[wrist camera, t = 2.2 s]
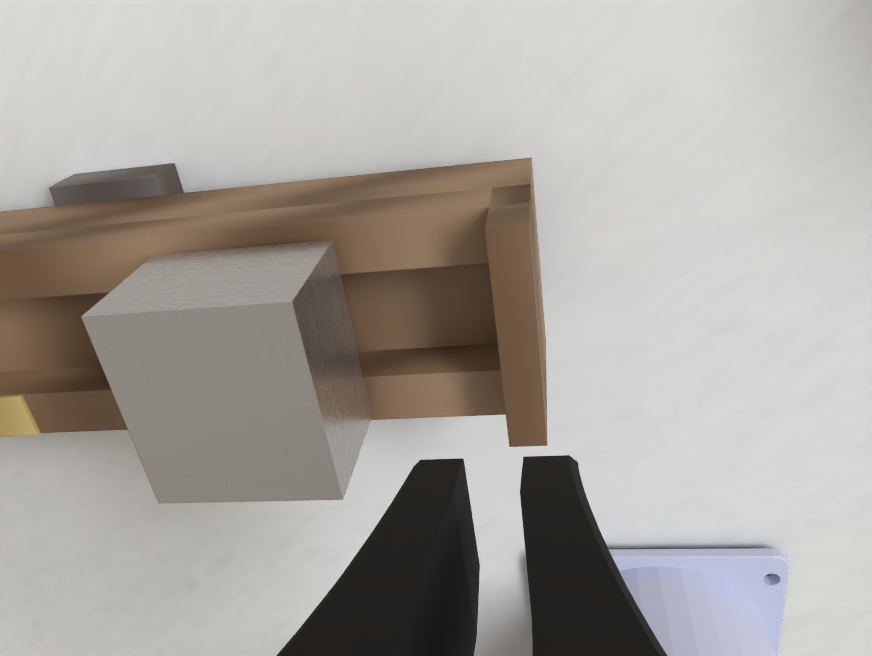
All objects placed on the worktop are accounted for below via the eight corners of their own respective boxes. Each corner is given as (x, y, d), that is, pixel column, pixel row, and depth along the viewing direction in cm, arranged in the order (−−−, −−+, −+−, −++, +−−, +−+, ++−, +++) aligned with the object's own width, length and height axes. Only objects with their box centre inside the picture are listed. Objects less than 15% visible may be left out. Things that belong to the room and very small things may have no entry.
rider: (348, 215, 16) (291, 301, 12) (382, 383, 18) (343, 499, 14) (182, 231, 17) (81, 316, 13) (233, 391, 19) (158, 503, 15)
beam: (530, 123, 18) (526, 198, 13) (547, 336, 20) (548, 464, 16) (-210, 205, 22) (-428, 286, 17) (-112, 375, 24) (-274, 486, 20)
